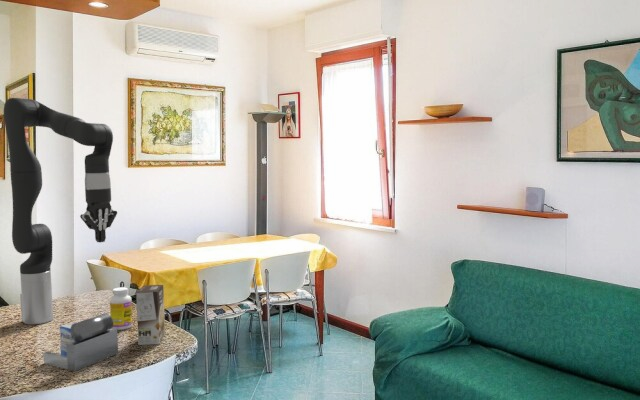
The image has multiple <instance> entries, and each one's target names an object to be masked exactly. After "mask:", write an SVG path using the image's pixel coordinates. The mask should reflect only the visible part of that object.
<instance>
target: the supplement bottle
mask: <svg viewBox="0 0 640 400" xmlns="http://www.w3.org/2000/svg"><path fill="white" fill-rule="evenodd" d="M128 293H129V288H127V287H124V286H122V287H121V286H120V287H115V288H113V289H112V294H113V296H111V297H110V299H109V305H110V306H109V309H110V313H109V315H110V316H111V318H112V320H113V329H117V331H121V330H128V329H130V328H131V327H133V307H132V306H133V305H132V304H133V303H132V301H133V300H132V296H130V295H128Z"/></svg>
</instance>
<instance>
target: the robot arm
mask: <svg viewBox="0 0 640 400" xmlns="http://www.w3.org/2000/svg"><path fill="white" fill-rule="evenodd" d="M3 119H4V120H3V121H4V126H5V131H6V138H7V146H8V151H9V165H10V168H9V170H10V172H9V173H10V183H11V194H12V195H11V196H12V197H11V198H12V199H11V200H12V224H11V226H12V227H11V228H12V230H11V238H12V244H13V245H12V246H13V247H14V249H15V251H16V252H17V253H19V254H22V255H23V254H24V255H25V254H30V255H29V256H28V257H27V259H26V260H25V261H23V262H21V264H20V265H19V272H20V275H19V276H20V287H21V288H20V290H21V291H20V292H21V293H20V295H19V297H20V313H21V314H20V315H21V316H20V317H21V321H22V323H23V324H24V325H40V324H41V325H42V324H45V323H48V322H51V321H53V320H54V309H53V308H54V307H53V306H54V305H53V304H54V303H53V290H52V289H53V288H52V286H53V285H52V274H51V266H52V262H53V235H52V231H51V229H50V228H49V227H48V225H46V224H44V223H34V224H33V222H32V221H33V220H32V219H33V209H34V206H35V204H36V202H37V200H38V197H39V196H40V193H41V191H42V187H43V174H42V165H41V163H40V161H39V159H38V157H37V156H36V154H35V153H34V152H33V150H32V148H31V147H30V145H29V143H28V141H27V136H26V129H25V128H32V127H43V128H49V129H50V130H52V131H53V132H54V133H55V134H57V135H59V136H61V137H63V138H64V137H65V138H67V139H71V140H73V141H75V142H76V143H77V144H80V145H83V146H87V147H94V148H93V151H92V153H89V154H87V155H85V156H84V172H85V173H84V192H85V194H84V196H85V203H86V204H87V205H86V208H85V212H84V213H83V214H82V213H81V214H80V215H79V217H80V219H81V220H82V221H83V223H84V224H85V225H86V227H88V228H89V230H94V237H95V241H96V243H105V242H106V238H107V237H106V230H107V229H108V228H111V227H112V224H113V223H114V220H115V219H116V217H117V215H118V211H117V210H114V209H113V208H112V205H111V202H112V186H111V177H110V176H111V175H110V164H109V163H110V155H111V151H112V147H113V141H114V134H113V131H112V129H111V127H110V126H109V125H107V124H105V123H96V122H95V123H91V122H86V121H85V120H83V119H82V118H80V117H77V116H75V115H71V114H70V115H69V114H66V113H63V112H59V111H56V110H55V109H52V108H50V107H48V106H47V105H45V104H43V103H41V102H40V101H37V100H35V99H29V98H22V97H20V98H18V97H9V98H8V99H6V101H5V103H4V106H3Z"/></svg>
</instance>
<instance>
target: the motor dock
mask: <svg viewBox="0 0 640 400" xmlns="http://www.w3.org/2000/svg"><path fill="white" fill-rule="evenodd" d="M73 323H74V324H73V325H72V326H71V329H70V332H71V336H72V338H73V339H74V340H75V341H72V342H69V343H67V344H66V346H67V356H65V355H61V353H57V352H52V351H45V352H43V364H44V365H49V366H54V367H58V368H62V369H66V370H68V371H69V370H70V371H74V372H77V371H80V370H83V369H84V368H86V367H87V368H88V366H89V367H90V366H91V364H92V365H93V364H96V363H98V361H99V362H101V361H103V360H106V359H107V357H108V358H111V357H113V356H115V355H117V353H118V354H119V340H118V339H119V338H118V330H117V329H113V320H112V318H111V314H110V313H107V312H106V313H101V314H98V315H95V316H94V317H93V316H92V317H90V318H87V319H84V320H81V321H78V322H73ZM112 355H113V356H112ZM110 356H111V357H110ZM105 358H106V359H105ZM100 360H101V361H100ZM79 369H80V370H79Z"/></svg>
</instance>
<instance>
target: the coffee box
mask: <svg viewBox="0 0 640 400" xmlns="http://www.w3.org/2000/svg"><path fill="white" fill-rule="evenodd" d="M164 292H165V291H164V284H150V285H143V286H141V287H140V288H139V289H138V290H137V291H136V292H135V294H136V320H137V321H136V322H137V344H138V346H139V345H140V346H143V345H144V346H147V345H148V346H149V345H150V346H151V345H160V343H161V341H162V340H163V339H164V337H165V335H166V324H165V323H166V322H165V319H166V318H165V299H164V298H165V295H164Z"/></svg>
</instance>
